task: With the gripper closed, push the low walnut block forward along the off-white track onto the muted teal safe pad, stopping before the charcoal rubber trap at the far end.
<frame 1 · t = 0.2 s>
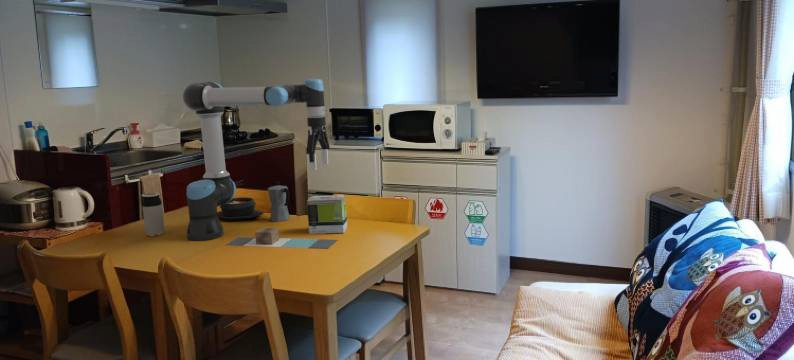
hand: (319, 167, 279), 28 cm above the table, fingers open, 13 cm apart
walnut block: (267, 242, 269), resting on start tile
travel mug: (155, 234, 290), on the table
safe pad: (300, 243, 265), on the table
coffeepot: (281, 220, 306), on the table
tea box: (328, 231, 283), on the table
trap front: (323, 244, 263), on the table
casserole: (239, 218, 315), on the table
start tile: (267, 242, 269), on the table
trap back: (240, 241, 271), on the table
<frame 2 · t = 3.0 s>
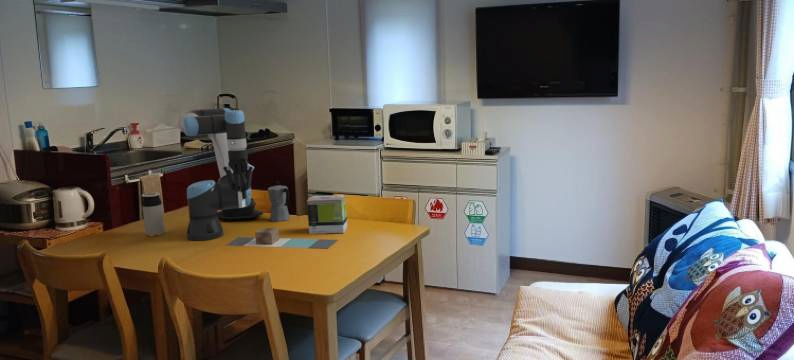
hand: (242, 206, 268), 15 cm above the table, fingers closed
nothing on the table moved.
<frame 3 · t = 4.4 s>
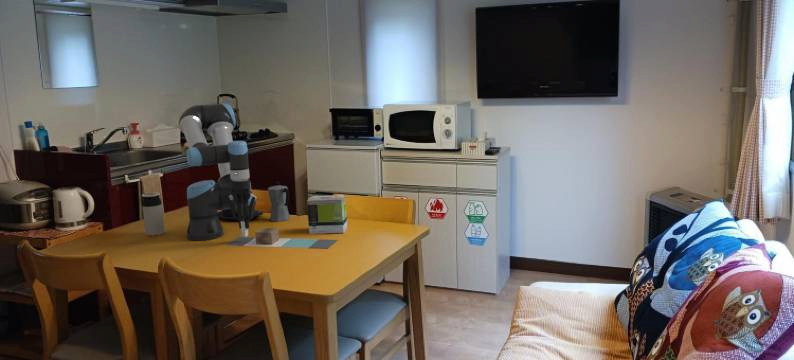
hand: (245, 236, 270), 2 cm above the table, fingers closed
nothing on the table moved.
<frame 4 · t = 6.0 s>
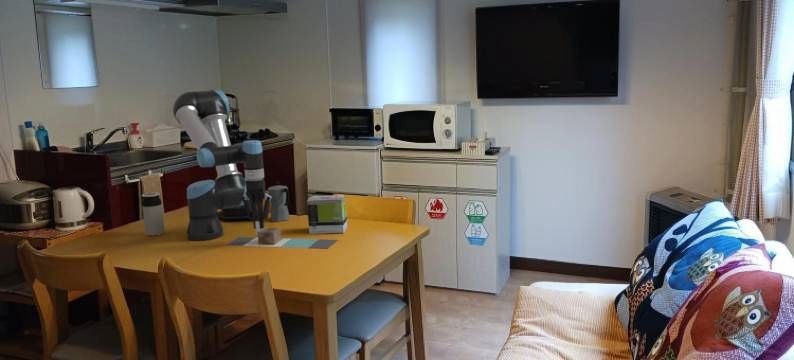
hand: (259, 236, 269), 3 cm above the table, fingers closed
walnut block: (270, 242, 268), resting on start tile, touching gripper
everything else where it was.
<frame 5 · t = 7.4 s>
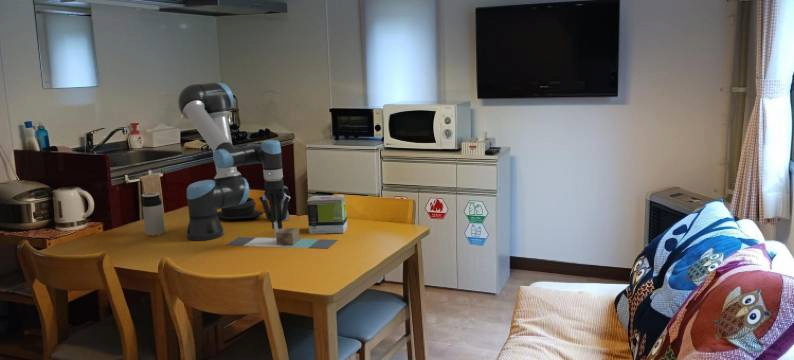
hand: (278, 236, 267), 3 cm above the table, fingers closed
walnut block: (288, 242, 266), on the table
everything else where it was.
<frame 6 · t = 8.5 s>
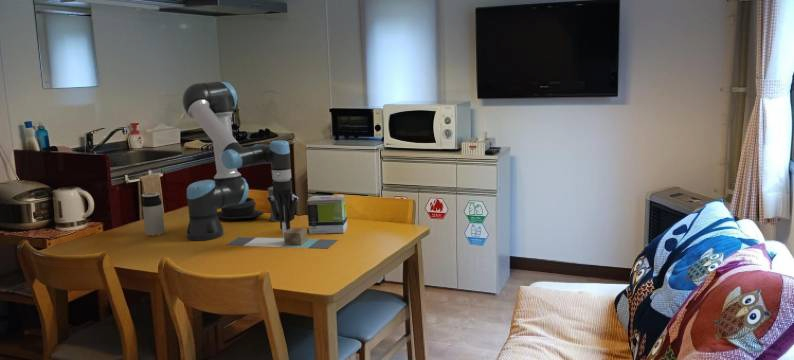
hand: (285, 237, 266), 2 cm above the table, fingers closed
walnut block: (296, 242, 266), resting on safe pad, touching gripper
everything else where it was.
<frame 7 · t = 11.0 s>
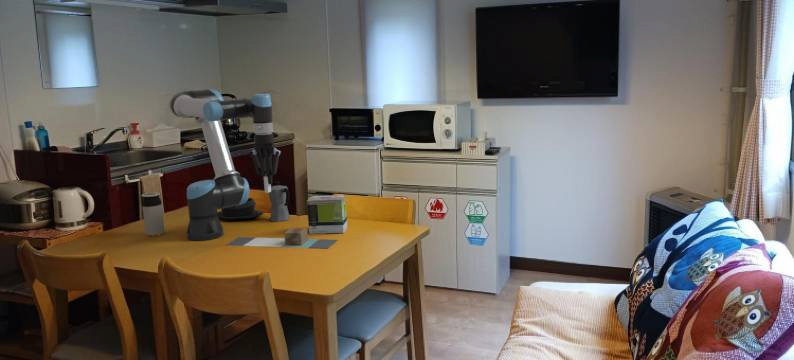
hand: (268, 192, 264), 21 cm above the table, fingers closed
walnut block: (296, 242, 266), resting on safe pad
everything else where it was.
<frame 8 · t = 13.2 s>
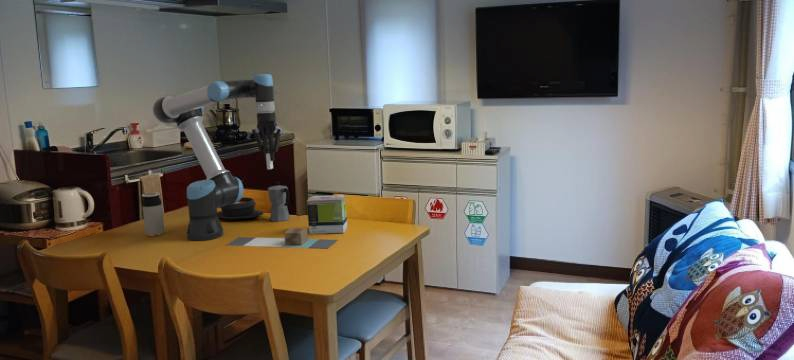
hand: (270, 168, 275), 28 cm above the table, fingers closed
nothing on the table moved.
at the end: walnut block inside the target area on the safe pad (1.4 cm from its centre), point 0.2 cm above the safe pad's base; walnut block touching safe pad; walnut block tilted 0° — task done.
